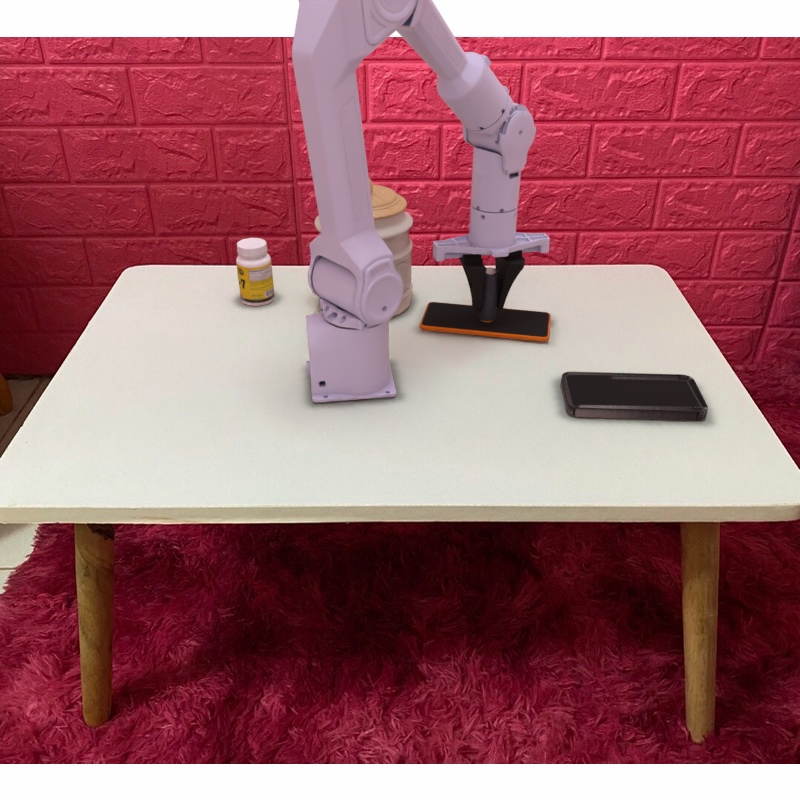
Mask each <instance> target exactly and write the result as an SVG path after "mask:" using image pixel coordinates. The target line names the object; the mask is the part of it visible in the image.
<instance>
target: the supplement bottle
mask: <svg viewBox="0 0 800 800" xmlns="http://www.w3.org/2000/svg"><path fill="white" fill-rule="evenodd" d="M267 243H268V242H267V241H266V239H263V238H260V237H248V238H242V239H240V240H238V241H237V243H236V252H237V257H236V259H235V264H236V272H237V279H238V287H239V295H240V296H239V297H240V300H241V302H242V303H243V304H245V305H247V306H249V307H250V306H251V307H260V306H264V305H268V304H270V303H272V302H273V301H274V300H275V298H276V297H275V295H276V294H275V286H274V276H273V265H272V258H271V256H270V254H269V253H268V244H267Z"/></svg>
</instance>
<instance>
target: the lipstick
mask: <svg viewBox="0 0 800 800" xmlns="http://www.w3.org/2000/svg"><path fill="white" fill-rule="evenodd" d="M486 268H487V270H486V274H485V278H484V284H483V300H482V310H481V311H478V318H479V319H480V320H481V321H483V322H492V321H493V320H495V319H496V313H497V299H498V286H499V271H498V270H497V269H495V267H490V266H489V267H486Z"/></svg>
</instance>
